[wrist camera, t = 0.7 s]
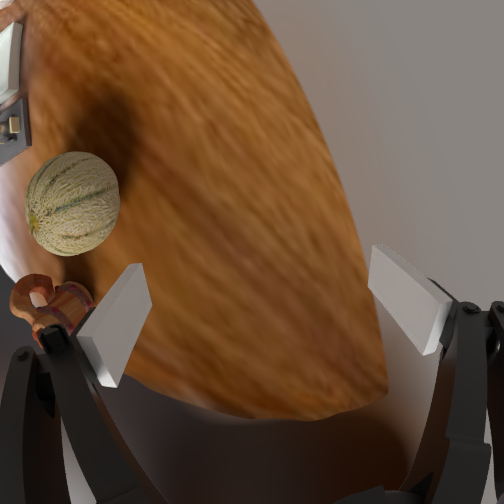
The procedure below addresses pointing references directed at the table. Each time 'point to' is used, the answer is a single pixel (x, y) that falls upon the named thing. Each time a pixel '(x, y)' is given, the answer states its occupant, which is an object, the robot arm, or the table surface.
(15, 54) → the tray
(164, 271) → the table surface
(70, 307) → the mug
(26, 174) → the table surface
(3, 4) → the lidded jar
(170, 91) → the table surface
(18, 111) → the fuse holder
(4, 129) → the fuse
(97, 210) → the cantaloupe
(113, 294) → the robot arm
